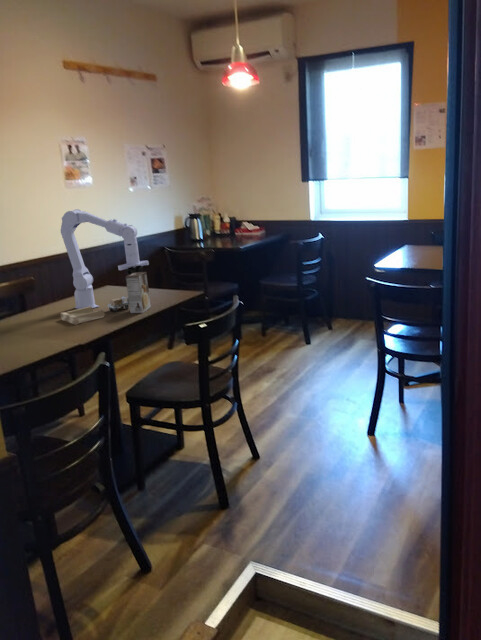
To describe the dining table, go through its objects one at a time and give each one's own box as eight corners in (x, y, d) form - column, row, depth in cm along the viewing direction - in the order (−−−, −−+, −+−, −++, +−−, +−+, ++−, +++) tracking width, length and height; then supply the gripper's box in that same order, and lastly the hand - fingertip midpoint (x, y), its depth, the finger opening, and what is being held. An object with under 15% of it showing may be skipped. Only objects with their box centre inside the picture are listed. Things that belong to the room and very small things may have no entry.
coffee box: (137, 307, 248) (133, 272, 244) (151, 307, 247) (146, 271, 242) (129, 313, 239) (124, 276, 235) (143, 312, 238) (139, 275, 234)
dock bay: (61, 319, 238) (60, 312, 237) (90, 312, 246) (89, 306, 245) (75, 324, 227) (74, 317, 227) (105, 317, 236) (104, 310, 235)
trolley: (108, 310, 247) (106, 299, 246) (123, 306, 252) (122, 296, 251) (114, 312, 243) (113, 301, 241) (130, 308, 248) (129, 297, 246)
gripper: (122, 256, 240) (126, 287, 244) (150, 251, 249) (154, 281, 252) (114, 255, 245) (118, 285, 249) (142, 250, 254) (146, 279, 258)
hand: (136, 283), depth 251 cm, fingers closed
